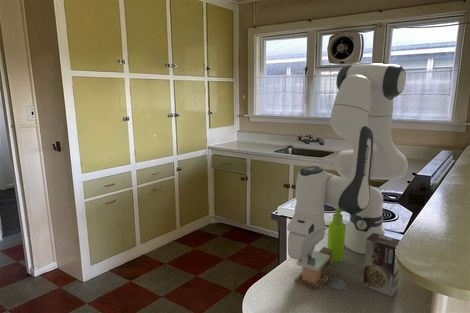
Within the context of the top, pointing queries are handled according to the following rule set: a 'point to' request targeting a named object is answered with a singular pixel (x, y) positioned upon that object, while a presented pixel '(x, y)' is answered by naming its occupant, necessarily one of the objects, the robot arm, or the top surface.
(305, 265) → the sliding lid
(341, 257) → the soap dispenser
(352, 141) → the robot arm
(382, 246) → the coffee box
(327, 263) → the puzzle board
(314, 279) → the terracotta block
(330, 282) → the slate coaster
